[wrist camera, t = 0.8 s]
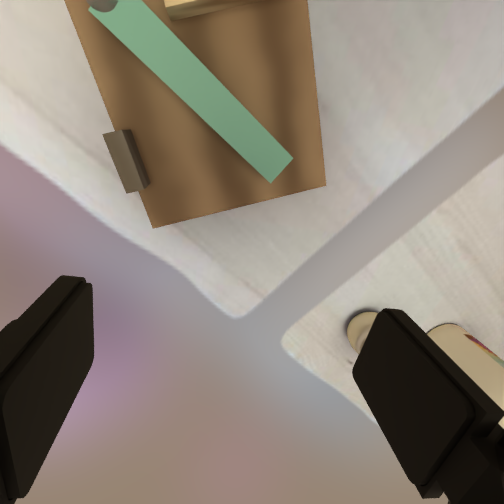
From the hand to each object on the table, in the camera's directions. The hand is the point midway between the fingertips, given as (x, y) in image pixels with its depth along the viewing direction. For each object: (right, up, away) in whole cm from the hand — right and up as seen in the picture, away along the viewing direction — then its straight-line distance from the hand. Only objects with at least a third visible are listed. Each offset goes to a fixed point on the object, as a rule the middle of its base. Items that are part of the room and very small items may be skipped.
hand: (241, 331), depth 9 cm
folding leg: (-4, +17, +16) cm, 23 cm away
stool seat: (-3, +17, +19) cm, 26 cm away
